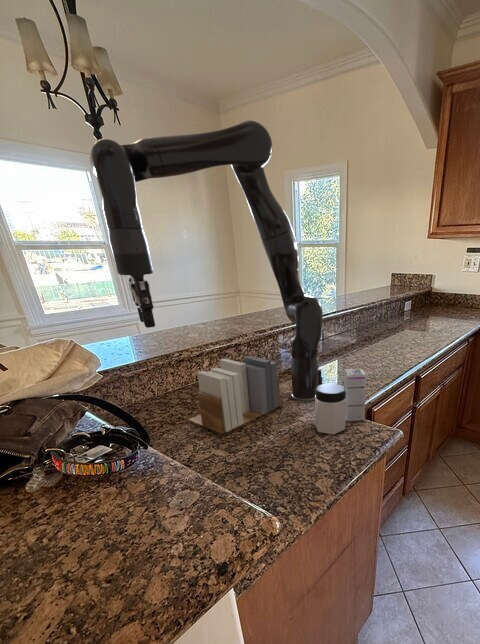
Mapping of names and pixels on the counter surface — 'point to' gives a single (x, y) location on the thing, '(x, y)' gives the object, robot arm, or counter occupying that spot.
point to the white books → (224, 394)
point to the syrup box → (355, 394)
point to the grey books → (261, 384)
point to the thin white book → (241, 370)
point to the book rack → (219, 412)
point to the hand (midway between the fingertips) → (147, 324)
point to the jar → (330, 408)
